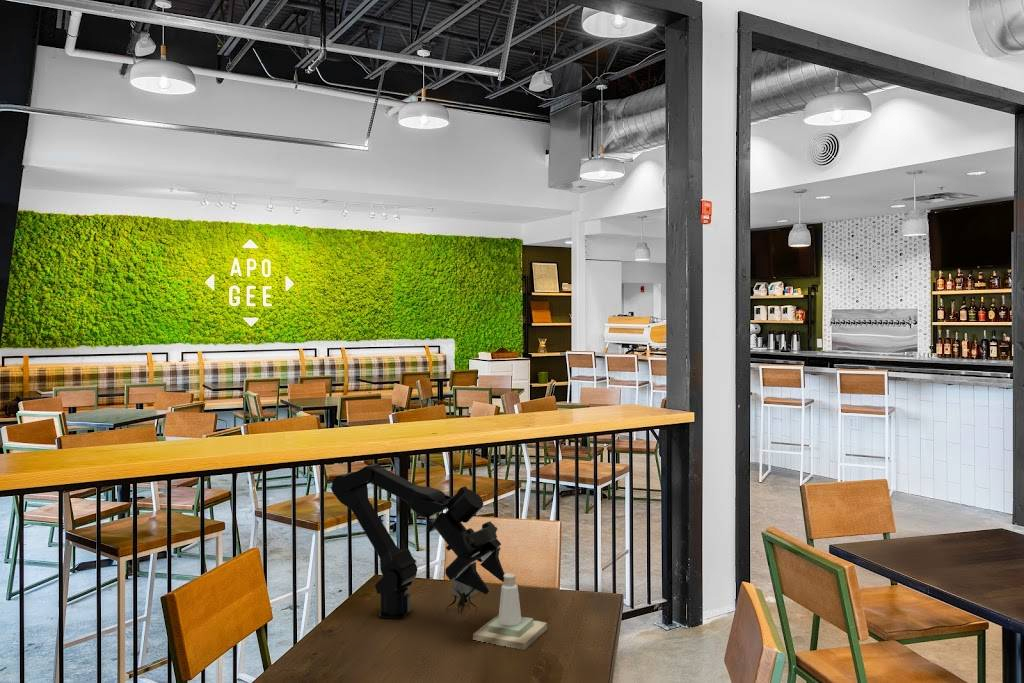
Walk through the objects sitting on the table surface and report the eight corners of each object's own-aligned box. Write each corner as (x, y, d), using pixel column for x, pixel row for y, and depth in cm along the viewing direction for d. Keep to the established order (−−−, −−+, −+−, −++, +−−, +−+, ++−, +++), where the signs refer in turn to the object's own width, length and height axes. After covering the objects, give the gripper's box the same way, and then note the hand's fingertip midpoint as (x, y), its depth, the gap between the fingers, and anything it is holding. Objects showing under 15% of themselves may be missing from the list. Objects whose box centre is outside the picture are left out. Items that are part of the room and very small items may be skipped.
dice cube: (452, 595, 202) (452, 576, 202) (465, 590, 206) (465, 571, 206) (466, 599, 199) (466, 580, 198) (478, 593, 202) (478, 575, 202)
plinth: (472, 640, 171) (472, 627, 171) (498, 620, 183) (497, 608, 183) (524, 650, 166) (524, 636, 166) (547, 629, 178) (547, 616, 178)
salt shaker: (521, 617, 177) (520, 570, 177) (521, 626, 172) (521, 578, 172) (498, 617, 177) (497, 571, 177) (498, 626, 172) (497, 578, 172)
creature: (475, 619, 187) (480, 601, 195) (474, 600, 186) (479, 583, 194) (444, 619, 188) (450, 600, 196) (443, 599, 187) (449, 582, 194)
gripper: (456, 522, 169) (500, 577, 165) (493, 504, 186) (534, 554, 182) (427, 552, 173) (469, 607, 168) (466, 532, 190) (505, 582, 185)
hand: (496, 586), depth 176 cm, fingers open, 9 cm apart
